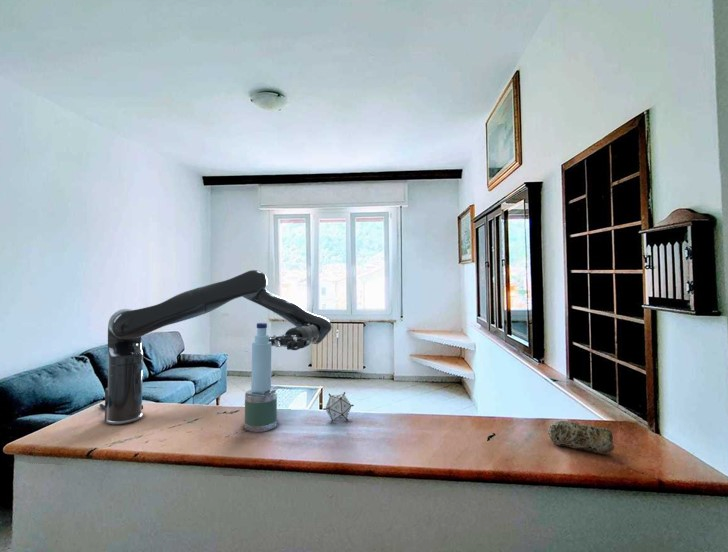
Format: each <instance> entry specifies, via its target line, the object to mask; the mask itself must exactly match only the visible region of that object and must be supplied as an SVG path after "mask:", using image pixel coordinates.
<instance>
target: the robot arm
mask: <svg viewBox="0 0 728 552" xmlns="http://www.w3.org/2000/svg"><path fill="white" fill-rule="evenodd" d="M267 285H268V278H267V276H266V274H265V273H263V272H262V271H260V270H257V269H250V270H247V271H245V272H243V273H240V274H238V275H236V276H233V277H231V278H227V279H226V280H222V281H217V282H213V283H209V284H207V285H202V286H198V287H195V288H192V289H189V290H186V291H183V292H180V293H178V294H176V295H174V296H171V297H170V298H168V299H166V300H164V301H162V302H160V303H156V304H154V305H150V306H146V307H142V308H136V309H132V308H123V309H122V308H121V309H119V310H117V311H115V312H114V313H113V314H112V315H110V318H109V320H108V323H107V356H108V357H107V358H108V360H107V361H108V362H107V363H108V365H107V369H108V370H107V387H106V388H105V391H104V404H103V403H100V404H99V407H100V408H101V409H103V410H104V421H105V422H106V424H109V425H126V424H130V423H133V422H136V421H139V420H140V419H142V418H143V410H144V405H143V379H144V377H143V373H144V371H143V369H144V351H143V346H142V345H143V344H142V337H143V336H146V335H147V334H151V333H152V332H154V331H157V330H159V329H161V328H163V327H167V326H169V325H174V324H178V323H180V322H184V321H187V320H191V319H193V318H197V317H200V316H202V315H205V314H209V313H210V312H212V311H215V310H216V309H218V308H221V307H222V306H223V305H225V304H227V303H229V302H231V301H233V300H235V299H239V298H244V299H246V300H248V301H250V302H253V303H254V304H257V305H259V306H261V307H263V308H265V309H267V310H269V311H271V312H273V313H274V314H276V315H278V316H280V317H281V318H283V319H284V320H286V321H287V322H289V323H290V324H291V325H293V326H294V327H292V328H289V329H287V330H286V331H285V333H284V334H281V335H276V334H274V335H270V336H269V342H271V347H276V348H281V347H282V348H283V347H284V348H286V349H287V350H289V351H298V350H301V349H305V348H306V347H308V346H310V345H311V344H313V345H319V344H320V343H321V342H322V341H323V340H324V339H325V338H326V337H327V335H328V334H329V333H330V332H331V331H332V328H333V327H332V323H331V322H330V320H329V319H327V318H326V317H323V316H321V315H317V314H314V313H311V312H309V311H307V310H306V309H305V308H303V307H301V306H300V305H298V304H297V303H295V302H293V301H291V300H289V299H286V298H283V297H280V296H278V295H275V294H274V293H272V292H270V291H268V290H267V289H266V287H267Z"/></svg>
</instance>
